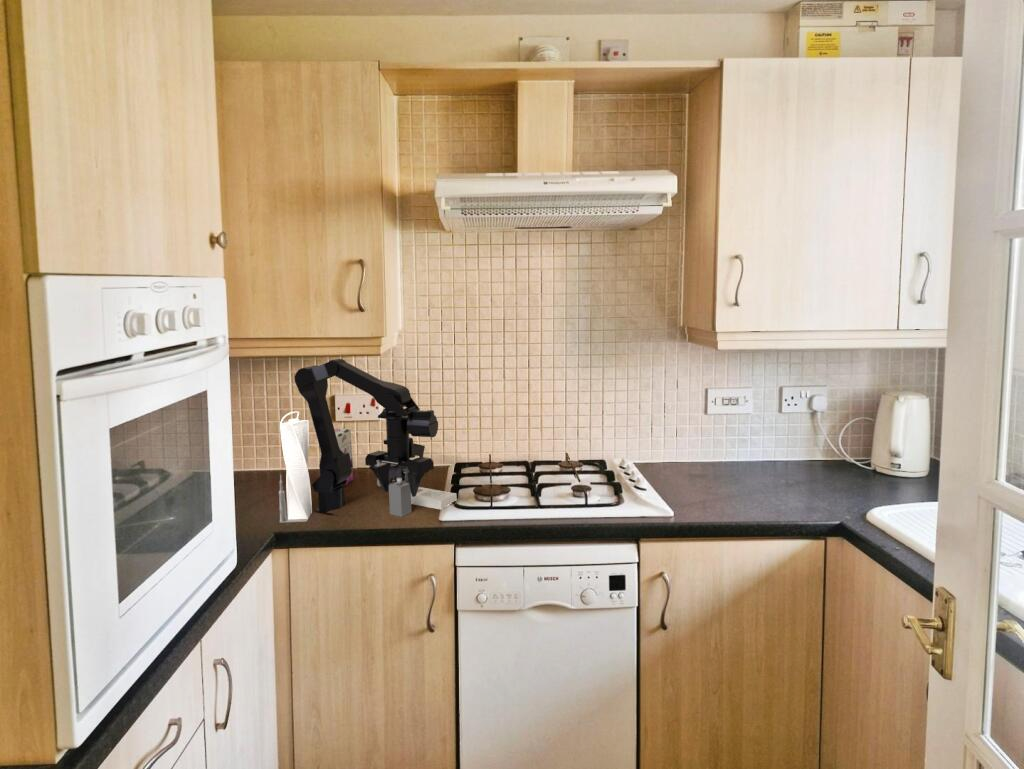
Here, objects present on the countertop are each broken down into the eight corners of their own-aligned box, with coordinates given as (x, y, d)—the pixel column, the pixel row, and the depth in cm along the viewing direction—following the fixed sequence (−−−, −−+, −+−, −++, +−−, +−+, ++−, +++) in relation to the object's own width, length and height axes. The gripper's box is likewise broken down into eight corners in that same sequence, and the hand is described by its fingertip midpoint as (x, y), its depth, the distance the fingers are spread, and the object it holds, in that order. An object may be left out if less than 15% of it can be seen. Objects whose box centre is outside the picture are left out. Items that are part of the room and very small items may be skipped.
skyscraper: (286, 513, 202) (280, 411, 197) (317, 512, 202) (311, 410, 198) (279, 523, 193) (272, 417, 189) (311, 522, 194) (304, 416, 190)
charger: (401, 517, 193) (400, 481, 192) (389, 514, 195) (388, 479, 194) (411, 512, 197) (410, 477, 195) (399, 510, 199) (398, 475, 197)
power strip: (441, 513, 198) (440, 498, 198) (392, 503, 207) (391, 489, 207) (456, 505, 204) (456, 491, 204) (408, 496, 213) (407, 482, 213)
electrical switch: (407, 482, 228) (406, 453, 226) (411, 488, 224) (411, 458, 222) (376, 486, 225) (375, 456, 223) (381, 492, 220) (380, 462, 218)
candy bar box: (338, 479, 233) (336, 427, 230) (354, 479, 232) (351, 428, 229) (323, 489, 222) (320, 435, 219) (339, 490, 221) (336, 436, 218)
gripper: (445, 432, 195) (447, 490, 197) (390, 426, 204) (393, 481, 207) (418, 441, 185) (421, 502, 188) (362, 434, 195) (365, 491, 197)
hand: (400, 493), depth 195 cm, fingers open, 9 cm apart
